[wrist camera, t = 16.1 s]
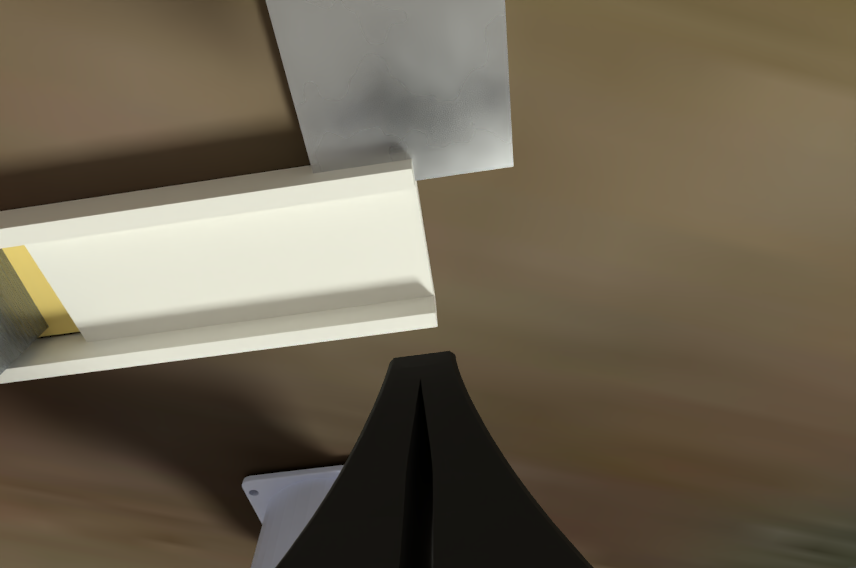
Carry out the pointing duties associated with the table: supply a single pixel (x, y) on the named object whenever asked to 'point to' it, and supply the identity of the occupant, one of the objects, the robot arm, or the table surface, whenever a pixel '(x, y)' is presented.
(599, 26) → the table surface
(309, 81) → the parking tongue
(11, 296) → the block
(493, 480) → the robot arm
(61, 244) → the rail
